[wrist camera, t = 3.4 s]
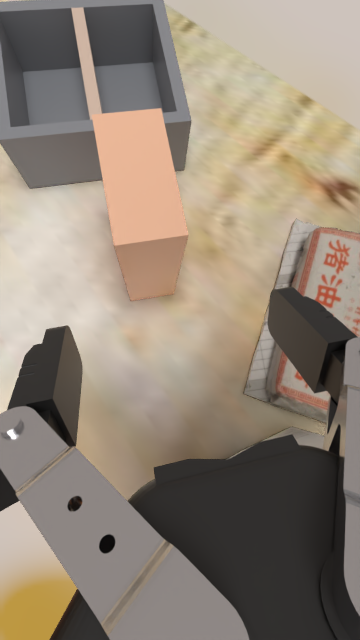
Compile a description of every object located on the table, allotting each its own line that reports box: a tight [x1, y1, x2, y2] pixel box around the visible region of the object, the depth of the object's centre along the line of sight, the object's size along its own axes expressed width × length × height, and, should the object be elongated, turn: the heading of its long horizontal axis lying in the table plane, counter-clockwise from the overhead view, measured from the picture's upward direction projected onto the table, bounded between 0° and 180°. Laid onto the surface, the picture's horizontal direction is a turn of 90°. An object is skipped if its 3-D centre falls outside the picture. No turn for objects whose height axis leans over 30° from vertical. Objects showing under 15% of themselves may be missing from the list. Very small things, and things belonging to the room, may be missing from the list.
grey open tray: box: [0, 0, 191, 188], centre depth 28 cm, size 15×13×6 cm
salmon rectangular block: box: [92, 108, 188, 301], centre depth 22 cm, size 4×8×12 cm, turn 11°
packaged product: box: [243, 218, 360, 423], centre depth 27 cm, size 18×5×10 cm
